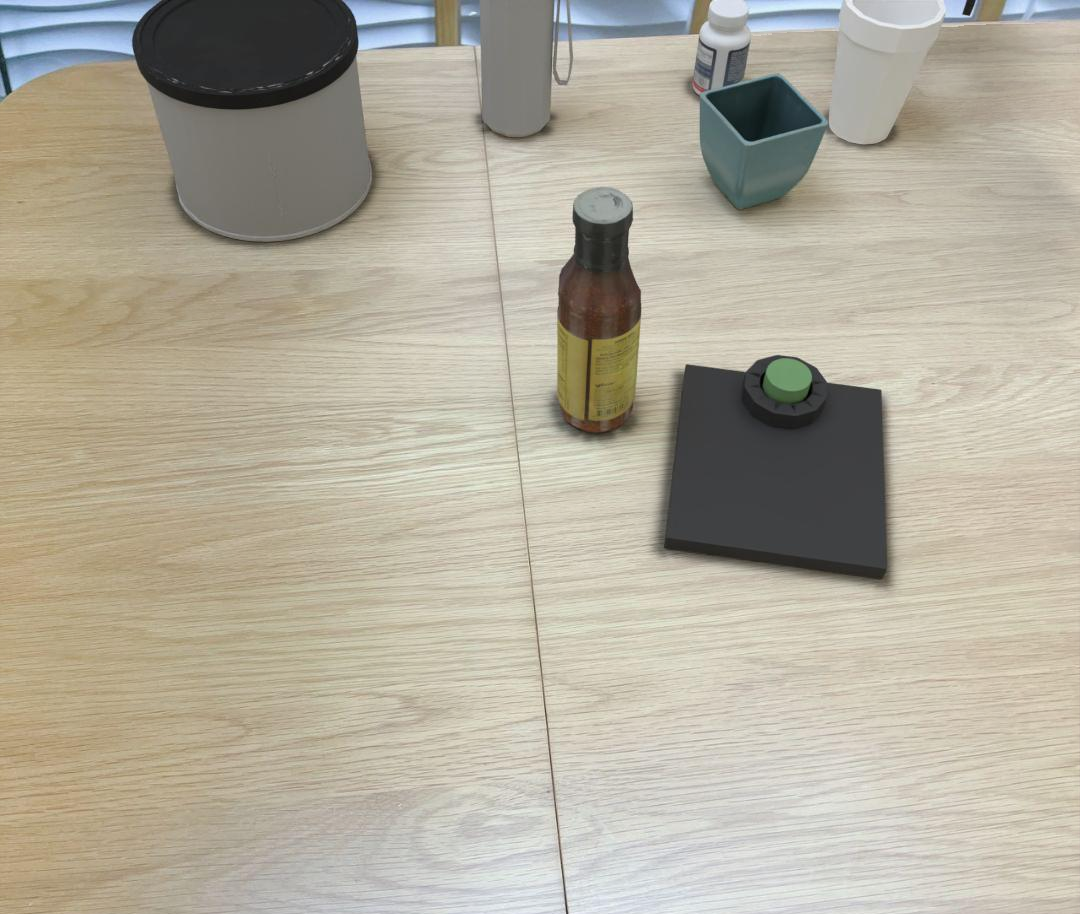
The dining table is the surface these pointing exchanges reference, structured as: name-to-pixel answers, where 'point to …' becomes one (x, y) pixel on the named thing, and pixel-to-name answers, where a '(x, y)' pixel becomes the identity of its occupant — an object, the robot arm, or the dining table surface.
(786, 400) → the tare button
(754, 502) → the scale
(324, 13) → the container
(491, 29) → the water bottle
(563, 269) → the sauce bottle
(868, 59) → the foam cup
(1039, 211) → the dining table surface
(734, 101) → the flower pot
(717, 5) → the pill bottle
